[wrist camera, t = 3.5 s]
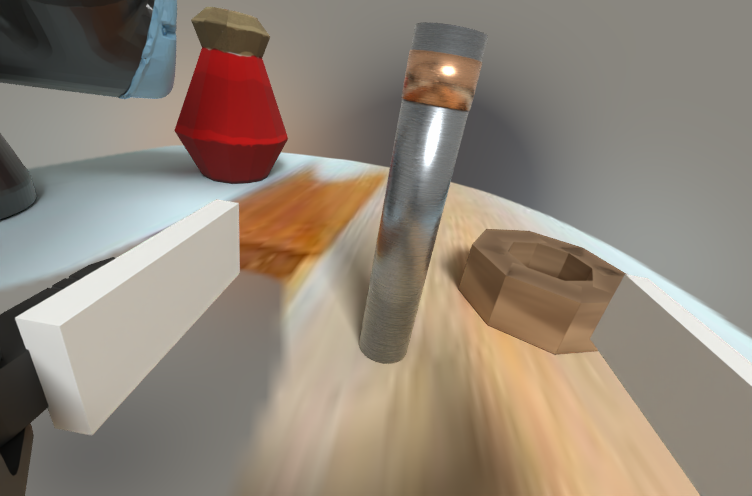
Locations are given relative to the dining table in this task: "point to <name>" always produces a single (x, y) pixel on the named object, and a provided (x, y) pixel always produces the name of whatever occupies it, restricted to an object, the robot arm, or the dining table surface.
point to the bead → (539, 288)
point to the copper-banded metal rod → (419, 180)
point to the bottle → (231, 101)
